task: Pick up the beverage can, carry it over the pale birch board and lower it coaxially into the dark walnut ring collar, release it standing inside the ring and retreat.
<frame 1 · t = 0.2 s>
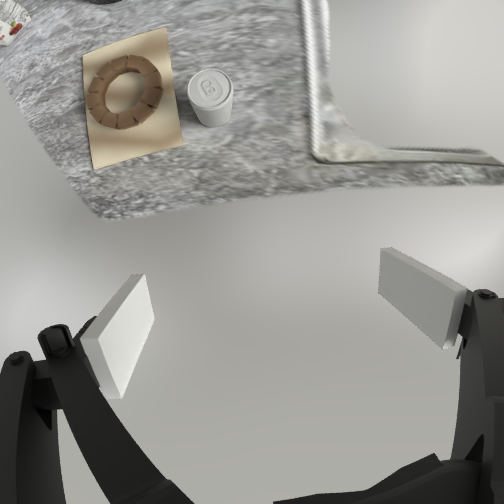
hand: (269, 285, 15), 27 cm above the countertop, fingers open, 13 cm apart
juice carton: (16, 27, 27), on the countertop
beverage can: (214, 112, 37), on the countertop
collar board: (128, 94, 35), on the countertop
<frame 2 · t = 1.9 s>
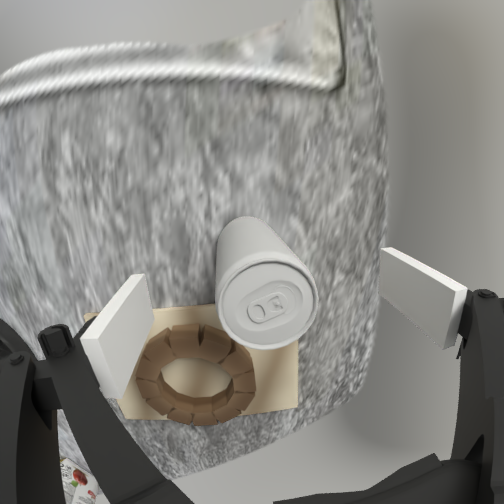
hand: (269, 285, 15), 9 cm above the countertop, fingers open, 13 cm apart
juice carton: (75, 469, 31), on the countertop
beverage can: (245, 243, 24), on the countertop
collar board: (196, 368, 27), on the countertop
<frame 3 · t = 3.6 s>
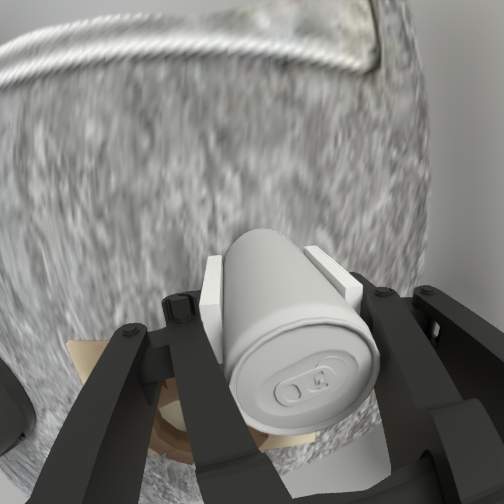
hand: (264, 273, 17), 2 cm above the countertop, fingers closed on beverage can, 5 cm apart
beverage can: (260, 262, 19), on the countertop, touching gripper
collar board: (199, 405, 22), on the countertop
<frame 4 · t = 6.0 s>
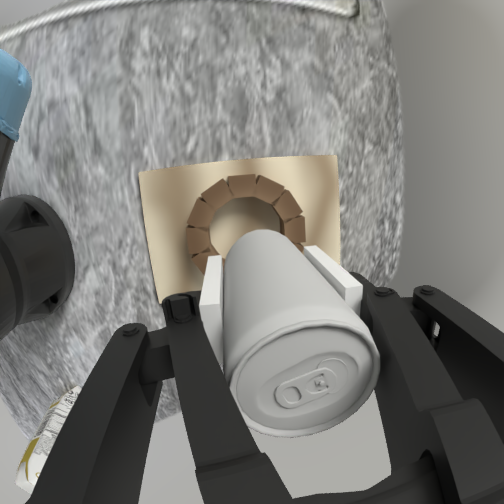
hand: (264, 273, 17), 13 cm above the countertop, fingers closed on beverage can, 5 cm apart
juice carton: (85, 404, 35), on the countertop
beverage can: (260, 263, 19), point 11 cm above the countertop, touching gripper
collar board: (244, 229, 30), on the countertop
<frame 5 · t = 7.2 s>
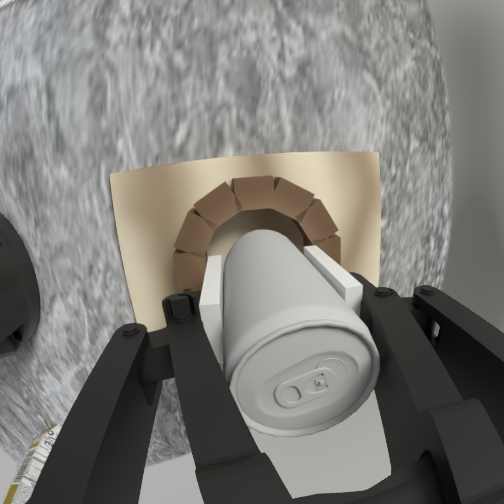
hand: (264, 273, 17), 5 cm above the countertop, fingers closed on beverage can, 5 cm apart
juice carton: (69, 442, 27), on the countertop
beverage can: (260, 263, 19), point 3 cm above the countertop, touching gripper
collar board: (255, 251, 22), on the countertop
when the fingers open (4 cm above the countertop, at t = 8.2 s): beverage can drops 2 cm, resting on collar board.
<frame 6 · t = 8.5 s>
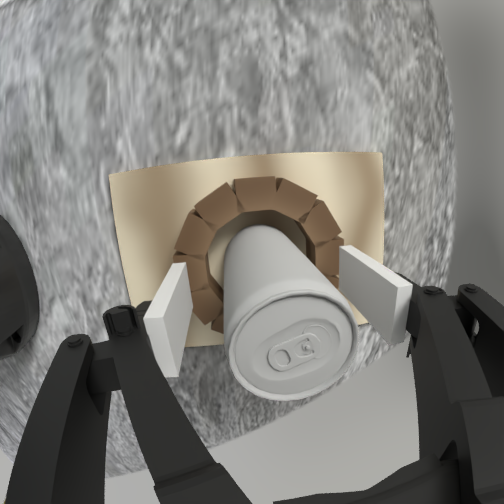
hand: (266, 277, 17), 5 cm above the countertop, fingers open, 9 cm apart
beverage can: (257, 255, 21), resting on collar board
collar board: (257, 253, 21), on the countertop
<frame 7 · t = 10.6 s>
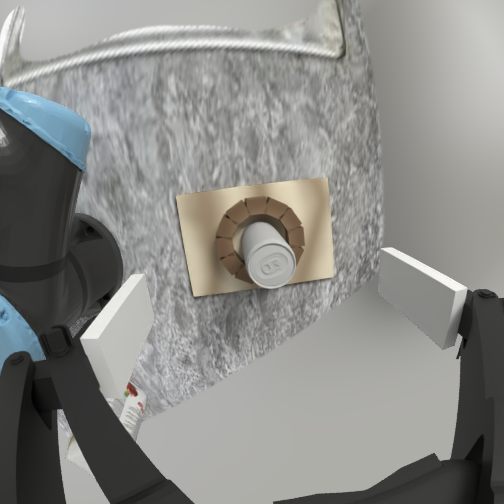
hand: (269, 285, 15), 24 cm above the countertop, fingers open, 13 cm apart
juice carton: (124, 388, 45), on the countertop
beverage can: (259, 238, 39), resting on collar board
collar board: (258, 237, 39), on the countertop
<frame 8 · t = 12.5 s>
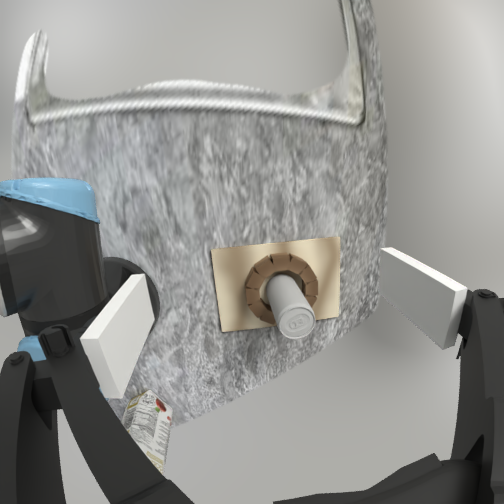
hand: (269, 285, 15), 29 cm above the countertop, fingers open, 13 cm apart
juice carton: (151, 403, 51), on the countertop
beverage can: (280, 286, 46), resting on collar board
collar board: (279, 285, 46), on the countertop
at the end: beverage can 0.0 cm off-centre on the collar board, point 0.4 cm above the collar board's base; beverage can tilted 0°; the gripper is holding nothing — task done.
